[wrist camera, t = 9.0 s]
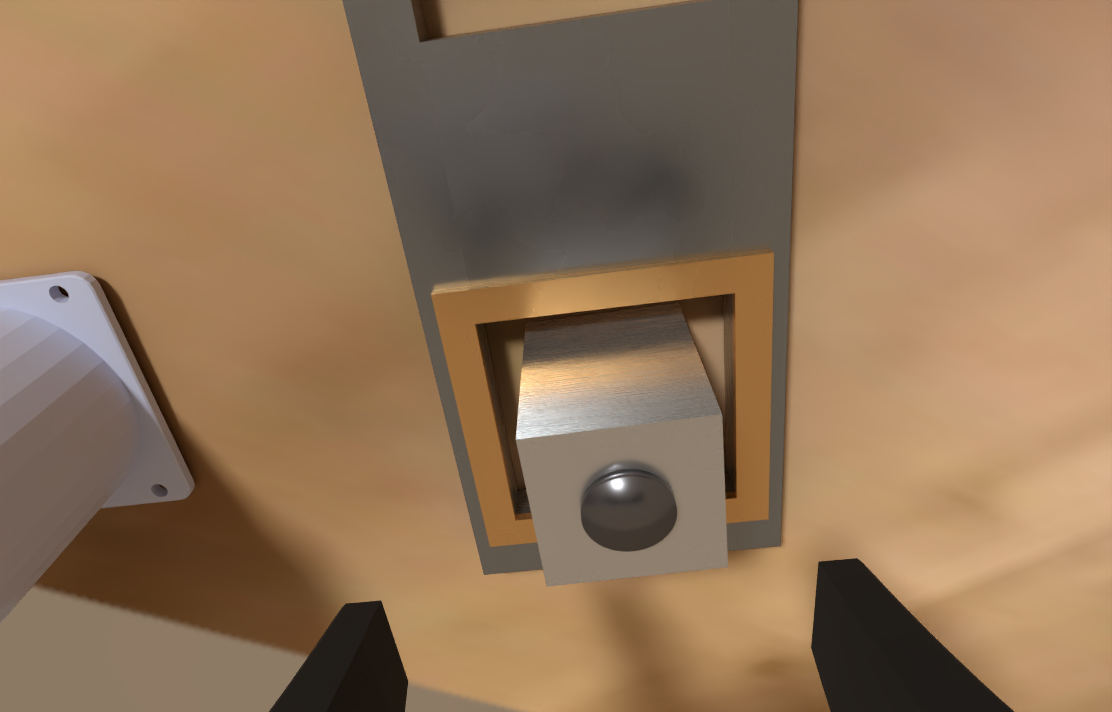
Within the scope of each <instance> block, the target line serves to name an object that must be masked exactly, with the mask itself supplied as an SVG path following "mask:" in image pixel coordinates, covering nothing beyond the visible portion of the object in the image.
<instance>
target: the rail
mask: <svg viewBox="0 0 1112 712" xmlns="http://www.w3.org/2000/svg"><path fill="white" fill-rule="evenodd" d="M342 1H343V5H344V9H345V13H346V17H347V21H348V25H349V29H350V33H351V37H352V41H353V45H354V49H355V53H356V57H357V62H358V66H359V70H360V74H361V78H362V82H363V86H364V90H365V94H366V98H367V102H368V106H369V110H370V114H371V118H372V122H373V126H374V130H375V135H376V139H377V143H378V147H379V151H380V155H381V159H382V163H383V167H384V171H385V175H386V179H387V183H388V187H389V191H390V195H391V199H392V204H393V208H394V212H395V216H396V220H397V224H398V228H399V232H400V236H401V240H402V244H403V248H404V252H405V256H406V260H407V264H408V268H409V272H410V277H411V281H412V285H413V289H414V293H415V297H416V301H417V305H418V309H419V313H420V317H421V321H422V325H423V329H424V333H425V337H426V341H427V346H428V350H429V354H430V358H431V362H432V366H433V370H434V374H435V378H436V382H437V386H438V390H439V394H440V398H441V402H442V406H443V410H444V414H445V419H446V423H447V427H448V431H449V435H450V439H451V443H452V447H453V451H454V455H455V459H456V463H457V467H458V471H459V475H460V479H461V483H462V488H463V492H464V496H465V500H466V504H467V508H468V512H469V516H470V520H471V524H472V528H473V532H474V536H475V540H476V544H477V548H478V552H479V556H480V561H481V565H482V569H483V573H484V575H488V574H498V573H508V572H518V571H529V570H539V569H543V567H542V562H541V557H540V552H539V548H538V543H537V538H536V533H535V529H534V524H533V519H532V514H531V510H530V505H529V500H528V495H527V491H526V489H525V490H518V489H517V484H516V479H515V474H514V469H513V464H512V459H511V454H510V449H509V444H508V439H507V434H506V429H505V424H504V419H503V414H502V409H501V403H500V398H499V393H498V388H497V383H496V378H495V373H494V368H493V363H492V358H491V353H490V348H489V343H488V338H487V333H486V328H485V323H488V322H497V321H505V320H514V319H522V318H530V317H539V316H547V315H555V314H564V313H572V312H581V311H589V310H597V309H606V308H614V307H622V306H631V305H639V304H648V303H656V302H664V301H673V300H681V299H689V298H698V297H706V296H715V295H723V306H724V367H725V428H726V469H724V475H725V501H726V527H727V551H734V550H745V549H755V548H765V547H775V546H781V516H782V485H783V454H784V422H785V391H786V360H787V329H788V298H789V267H790V236H791V205H792V174H793V143H794V112H795V81H796V50H797V19H798V0H693V1H686V2H679V3H672V4H665V5H658V6H651V7H644V8H637V9H630V10H624V11H617V12H610V13H603V14H596V15H589V16H582V17H575V18H568V19H562V20H555V21H548V22H541V23H534V24H527V25H520V26H513V27H506V28H499V29H493V30H486V31H479V32H472V33H465V34H458V35H451V36H444V37H437V38H431V39H428V36H427V31H426V26H425V21H424V16H423V11H422V6H421V1H420V0H342Z"/></svg>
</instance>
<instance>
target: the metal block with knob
mask: <svg viewBox="0 0 1112 712" xmlns="http://www.w3.org/2000/svg"><path fill="white" fill-rule="evenodd" d="M516 443H517V448H518V453H519V458H520V462H521V467H522V472H523V476H524V481H525V486H526V491H527V495H528V500H529V505H530V510H531V514H532V519H533V524H534V529H535V533H536V538H537V543H538V548H539V552H540V557H541V562H542V567H543V571H544V576H545V581H546V586H556V585H566V584H575V583H585V582H594V581H603V580H613V579H622V578H631V577H641V576H650V575H660V574H669V573H678V572H688V571H697V570H706V569H716V568H725V567H728V554H727V527H726V501H725V475H724V449H723V423H722V413H721V410H720V408H719V405H718V403H717V400H716V397H715V395H714V392H713V390H712V387H711V385H710V382H709V380H708V377H707V374H706V372H705V369H704V367H703V364H702V362H701V359H700V357H699V354H698V351H697V349H696V346H695V344H694V341H693V339H692V336H691V334H690V331H689V328H688V326H687V323H686V321H685V318H684V316H683V313H682V311H681V308H680V305H679V303H670V304H663V305H655V306H648V307H640V308H633V309H625V310H618V311H610V312H603V313H595V314H588V315H580V316H573V317H565V318H558V319H550V320H543V321H535V322H528V323H526V328H525V339H524V351H523V362H522V374H521V385H520V396H519V408H518V419H517V431H516Z"/></svg>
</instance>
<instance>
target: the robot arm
mask: <svg viewBox="0 0 1112 712" xmlns="http://www.w3.org/2000/svg"><path fill="white" fill-rule="evenodd" d="M58 286H60V287H62V288H64V289H65V290H66V291H67V292H68V295H69V297H66V296H65V295H63V294H62V293H61V292H60V291H59V288H58ZM158 484H160V485H162V486H164V487H165V488H166V489H164V488H162V487H160V486H159V485H158ZM194 486H195V484H194V480H193V478H192V476H191V474H190V472H189V470H188V468H187V465H186V463H185V461H184V459H183V457H182V455H181V453H180V451H179V449H178V447H177V445H176V442H175V440H174V438H173V436H172V434H171V432H170V430H169V428H168V426H167V424H166V422H165V419H164V417H163V415H162V413H161V411H160V409H159V407H158V405H157V403H156V401H155V398H154V396H153V394H152V392H151V390H150V388H149V386H148V384H147V382H146V380H145V378H144V375H143V373H142V371H141V369H140V367H139V365H138V363H137V361H136V359H135V357H134V355H133V352H132V350H131V348H130V346H129V344H128V342H127V340H126V338H125V336H124V334H123V332H122V329H121V327H120V325H119V323H118V321H117V319H116V317H115V315H114V313H113V311H112V308H111V306H110V304H109V302H108V300H107V298H106V296H105V294H104V292H103V290H102V288H101V285H100V284H99V283H98V281H97V280H96V279H95V278H94V277H93V276H91V275H90V274H88V273H85V272H83V271H71V272H63V273H56V274H48V275H40V276H32V277H25V278H17V279H9V280H1V281H0V623H1V622H2V621H3V620H4V619H5V618H6V616H7V615H8V614H9V613H10V612H11V611H12V609H13V608H14V607H15V606H16V605H17V604H18V603H19V601H20V600H21V599H22V598H23V597H24V596H25V595H26V593H27V592H28V591H29V590H30V589H31V588H32V586H33V585H34V584H35V583H36V582H37V581H38V580H39V578H40V577H41V576H42V575H43V574H44V573H45V572H46V570H47V569H48V568H49V567H50V566H51V565H52V563H53V562H54V561H55V560H56V559H57V558H58V557H59V555H60V554H61V553H62V552H63V551H64V550H65V549H66V547H67V546H68V545H69V544H70V543H71V542H72V540H73V539H74V538H75V537H76V536H77V535H78V534H79V532H80V531H81V530H82V529H83V528H84V527H85V526H86V524H87V523H88V522H89V521H90V520H91V519H92V518H93V516H94V515H95V514H96V513H97V512H98V511H99V509H100V508H110V507H119V506H128V505H138V504H147V503H156V502H166V501H175V500H182V499H186V498H187V497H188V496H189V495H190V494H191V492H192V491H193V490H194ZM811 649H812V652H813V655H814V659H815V662H816V665H817V669H818V672H819V675H820V679H821V682H822V685H823V689H824V692H825V695H826V698H827V701H828V704H829V707H830V711H831V712H1014V711H1013V710H1012V709H1011V708H1010V707H1008V706H1007V705H1006V704H1005V703H1004V702H1003V701H1002V700H1001V699H999V698H998V697H997V696H996V695H995V694H994V693H993V692H992V691H991V690H990V689H988V688H987V687H986V686H985V685H984V684H983V683H982V682H981V681H980V680H979V679H978V678H977V677H976V676H974V675H973V674H972V673H971V672H970V671H969V670H968V669H967V668H966V667H965V666H964V665H963V664H962V663H961V662H960V661H959V660H958V659H957V658H956V657H955V656H953V655H952V654H951V653H950V652H949V651H948V650H947V649H946V648H945V647H944V646H943V645H942V644H941V643H940V642H939V641H938V640H937V639H936V638H935V637H934V636H933V635H932V634H931V633H930V632H929V631H928V630H927V629H926V628H925V627H924V626H923V625H922V624H921V623H920V622H919V621H918V620H917V619H916V618H915V617H914V616H913V615H912V614H911V613H910V612H909V611H908V610H907V609H906V608H905V607H904V606H903V605H902V604H901V603H900V602H899V601H898V600H897V598H896V597H895V596H894V595H893V594H892V593H891V592H890V591H889V590H888V589H887V588H886V587H885V586H884V585H883V584H882V583H881V582H880V581H879V580H878V578H877V577H876V576H875V575H874V574H873V573H872V572H871V571H870V570H869V569H868V568H867V567H866V566H865V565H864V564H863V563H862V562H861V561H860V560H859V559H857V558H856V559H844V560H833V561H822V562H819V563H818V575H817V587H816V599H815V610H814V622H813V634H812V645H811ZM407 687H408V679H407V676H406V673H405V670H404V667H403V664H402V661H401V658H400V655H399V652H398V649H397V646H396V643H395V640H394V637H393V634H392V631H391V628H390V625H389V622H388V619H387V616H386V613H385V610H384V608H383V605H382V602H381V601H371V602H360V603H349V604H345V605H344V606H343V607H342V608H341V610H340V611H339V613H338V614H337V616H336V617H335V618H334V620H333V621H332V623H331V624H330V626H329V627H328V629H327V630H326V632H325V633H324V635H323V636H322V637H321V639H320V640H319V642H318V643H317V645H316V646H315V648H314V649H313V651H312V652H311V654H310V655H309V656H308V658H307V659H306V661H305V662H304V664H303V665H302V667H301V668H300V669H299V671H298V672H297V674H296V675H295V676H294V678H293V680H292V681H291V682H290V684H289V685H288V686H287V688H286V689H285V690H284V692H283V693H282V695H281V696H280V697H279V699H278V700H277V701H276V703H275V704H274V706H273V707H272V708H271V710H270V711H269V712H405V705H406V695H407Z"/></svg>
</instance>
